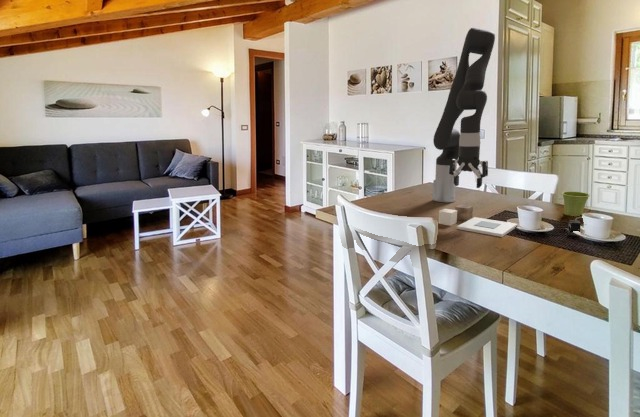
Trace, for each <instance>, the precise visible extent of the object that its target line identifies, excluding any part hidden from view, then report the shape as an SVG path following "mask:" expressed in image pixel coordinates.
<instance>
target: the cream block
mask: <svg viewBox="0 0 640 417" xmlns="http://www.w3.org/2000/svg"><path fill="white" fill-rule="evenodd" d="M457 220H458V219H457V210H455V209H452V208H443V209H441V210H439V211H438V223H439V225H445V226H451V227H452V226H454V225H455V224H457Z"/></svg>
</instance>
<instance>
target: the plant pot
mask: <svg viewBox="0 0 640 417" xmlns="http://www.w3.org/2000/svg"><path fill="white" fill-rule="evenodd" d="M561 195H562V198H563V208H564V209H563V211H564V212H563V214H564V215H565V216H570V217H573V216H574V217H577V216H579V217H581V216H580V215H582V216H583V214H584V210H585V208H586V204H587V201H588V199H589V198H590V196H591V195H590V194H589V193H586V192H581V191H571V190H570V191H562V193H561ZM577 218H578V217H577Z"/></svg>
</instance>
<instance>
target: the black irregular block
mask: <svg viewBox="0 0 640 417" xmlns="http://www.w3.org/2000/svg"><path fill="white" fill-rule="evenodd" d="M581 224H582V223H581V221H580V220H576V219H574V220H573V219H569V221H568V228H566V229H567V230H568V231H569V232H570V233H571V232H573V231H579V232H580V230H581V226H582V225H581Z"/></svg>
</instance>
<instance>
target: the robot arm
mask: <svg viewBox="0 0 640 417" xmlns="http://www.w3.org/2000/svg"><path fill="white" fill-rule="evenodd" d="M495 40H496V34H495V32H494V31H491V30H486V29H481V28H476V27H470V28H469V30H468V31H467V34H466V36H465V38H464V42H463V46H462V51H461V55H460V58H459V63H458V65H457V68H456V73H455V74H454V77H453V81H452V84H451V86H450V90H449V92H448V96H447V100H446V104H445V105H444V106H445V107H444V109H443V112H442V115H441V117H440V121H439V123H438V125H437V128H436V130H435V132H434V135H433V140H432V141H433V146H434V147H435V149H437V150H439V151H440V150H441V151H442V152H441V153H440V155H438V156H437V157H436V158H435V160H436V161H435V177H434V178H435V179H433V184H432V185H433V186H432V201H435V202H439V203H452V202H453V203H454V202H455V201H456V187H458V186H459V185H460V176H459V175H460V174H461V173H462V172H471V173H472V172H473V174H475V176H476V177H477V178H476V189H480V188H481V187H482V186H483V178H486V177H488V175H489V162H488V160H480V154H481V153H480V152H481V149H480V148H481V133H480V132H481V121H482V116H483V112H484V110H485V106H486V105H487V101H488V95H487V93H486V91H485V90H483V88H484V86H485V79H486V71H487V69H488V65H489V62H490V59H491V56H492V52H493V49H494V46H495V42H496V41H495ZM470 54H474V55H480V57H479V58H478V59H476V60H475V61H473V62H472V63H471V64H470ZM473 110H475V112H474V113H473V114H472V115H468V116H463V117H462V118H461V120H460V130H457V129H456V128H454V127H455V125H456V121H457V120H458V119H459V117H460V116H461V115H462V113H463V112H464V111H473ZM459 131H460V132H459ZM458 166H459V167H458ZM479 166H480V167H482V168H481V169H482V172H481V170H480V168H479Z"/></svg>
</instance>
